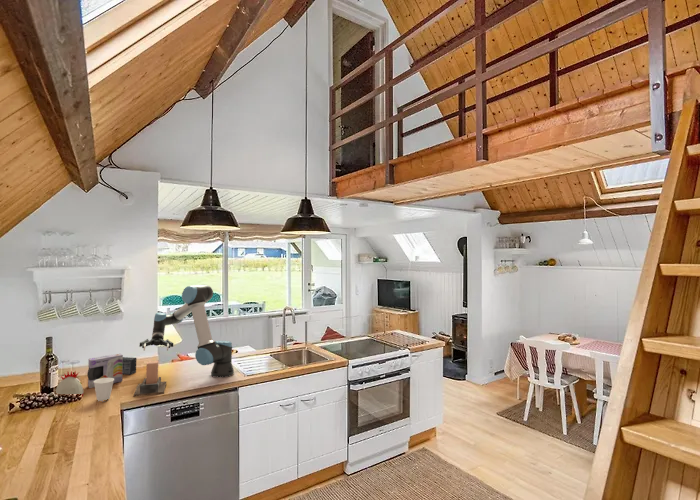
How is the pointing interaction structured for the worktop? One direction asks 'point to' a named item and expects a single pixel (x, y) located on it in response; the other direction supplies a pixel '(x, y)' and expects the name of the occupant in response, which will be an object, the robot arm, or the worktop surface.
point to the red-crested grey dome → (70, 385)
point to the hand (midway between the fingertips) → (156, 348)
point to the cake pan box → (105, 368)
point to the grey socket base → (150, 388)
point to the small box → (129, 366)
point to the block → (152, 372)
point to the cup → (103, 388)
